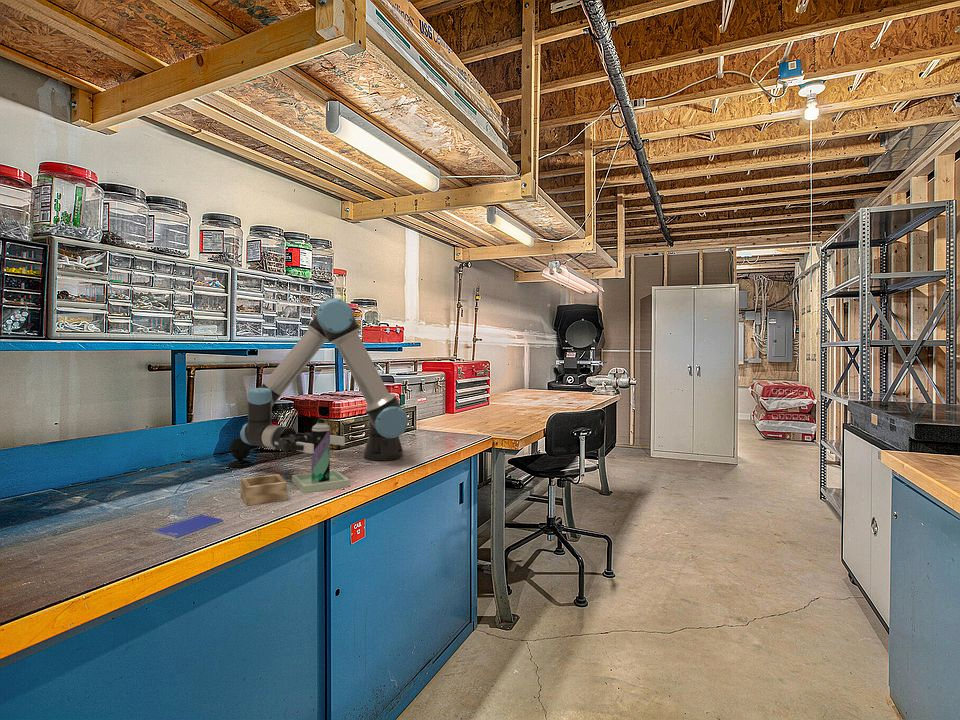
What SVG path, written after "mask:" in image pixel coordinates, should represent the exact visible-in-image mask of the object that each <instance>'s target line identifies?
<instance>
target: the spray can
mask: <svg viewBox="0 0 960 720" xmlns="http://www.w3.org/2000/svg"><path fill="white" fill-rule="evenodd" d="M330 427H331V426H330V425H328V424H327V423H326V421H325V419H324V418H318V421H317V422H316V424H314V425H313V426H312V428H311V433H312V443H311V444H314V453H312V454H311V468H310V469H311V471H310V473H311V483H312V484H317V483H324V482H329V479H330V471H331V468H330V467H331V466H330V465H331V463H330V460H331V459H330V458H331V444H330V432H331V428H330Z"/></svg>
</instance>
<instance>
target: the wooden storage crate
mask: <svg viewBox="0 0 960 720" xmlns="http://www.w3.org/2000/svg"><path fill="white" fill-rule="evenodd" d="M287 487H288V484H287V481H286V480H285V479H284V478H283V477H282V476H281V475H280V474H279V473H277V474H267V475H260V476H251V477H244V478H240V498H241V500H243V502H244V504H245V506H246V507H247V506H249V505H250V506H256V505H262V503H263V504H268V503H269V502H270V503H277V502H283V501H282V500H284V501H287V497H288V495H287V494H288V492H287V491H288V490H287V489H288V488H287ZM276 501H277V502H276ZM270 503H269V504H270ZM250 506H249V507H250Z"/></svg>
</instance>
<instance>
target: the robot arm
mask: <svg viewBox="0 0 960 720" xmlns="http://www.w3.org/2000/svg"><path fill="white" fill-rule="evenodd" d="M307 328H308V329H307V330H306V332H304V334H303V335H302V337H301V338H300V339H299V340H298V341H297V342H296V344H295V345H294V346H293V348H292V349H291V350H290V351H289V352H288V353H287V354H286V356H285V357H284V358H283V359H282V361H280V363H279V364H278V365H277V367H275V369H274V370H273V371H272V372H271V374H270V375H269V376H268V377H267V378H266V379H265V381H264V382H263V383H262V384H261V386H260V387H254V388H250V389H248V391H247V399H246V401H247V422H246V423H244V424H243V425H242V427H241V430H240V432H239V433H240V434H239V436H240V437H239V438H241V439H242V441H243V442H245V443H247V444H250V445H251V446H254V447H263V448H264V447H265V448H268V449H272V450H273V451H275V450H280V451H283V452H285V453H288V452H290V454H296V452H300V453H306V454H311V455H312V453H314V444H312V432H304V433H302V432H296V430H295V429H294V428H293V427H289V426H282V425H276V424H272V421H273V420H272V415H273V412H272V410H273V406H274V405H275V403H276V402H277V401H278V400H279V398H280V397H281V396H282V395H283V394H284V392H285V391H287V389H288V388H289V386H290V385H291V384H292V383H293V382H294V380H295V379H296V378H297V376H299V374H301V372H302V371H303V370H304V369H305V368H306V366H307V365H308V363H309V362H310V361H311V360H312V358H314V356H315V355H316V354H317V353H318V351H319V350H320V349H321V348H322V347H323V345H324V344H326V343H328V342H329V343H330V344H333V345H335V346H336V348H337V350H338V352H339V354H340V355H341V357H342V359H343V361H344V363H345V365H346V367H347V368H348V370H349V372H350V374H351V376H352V378H353V380H354V382H355V383H356V386H357V387H358V389H359V390H360V393H361V394H362V396H363V398H364V400H365V401H366V408H365V411H366V414H367V415H368V439H367V441H366V444H365V448H364V450H363V458H364V459H366V460H370V461H376V460H388V461H392V460H391V459H396V460H398V459H397V458H400V457H402V456H403V457H404V450H403V445H402V443H401V440H400V436H401V435H403V434H404V433H405V431H406V430H407V428H408V425H409V424H408V423H409V419H408V415H407V413H406V411H405V410H404V409H403V408H402V406H401V403H400V399H399V398H397V397H396V395H395V394H393V393H390V392H389V391H388V389H387V387H386V385H385V383H384V382H383V379H382V376H381V375H380V374H379V373H380V372H379V371H378V370H377V367H376V365H375V364H374V362H373V360H372V358H371V355H370V354H369V352H368V350H367V349H366V347H365V344H364V343H363V340H362V339H361V337H360V334H359V332H360V326H359V324H358V322H357V320H356V319H355V316H354V311H353V308H352V307H351V306H350V304H349V303H348V302H346V301H345V300H343V299H340V298H335V297H334V298H329V299H326V300H324V301H323V302H321V303H320V305H319V306H318V307H317V310H316V313H315V315H314V317H313V319H312V320H311V321H310V323H309V324H307ZM330 445H335V446H343V447H344V446H345V445H346V436H342V435H341V436H340V435H334V433H332V432H331V431H330ZM403 457H402V458H403ZM400 459H401V458H400Z"/></svg>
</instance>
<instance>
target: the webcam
mask: <svg viewBox="0 0 960 720" xmlns="http://www.w3.org/2000/svg"><path fill="white" fill-rule="evenodd" d="M251 450H252V445H250V444H247V443H245V442H243V441H242V439H241V437H237V438H235V439H233V440H232V442H231V443H230V453H231V455H232V457H233V458H234V459H236V460H233V461H230V462H229V463H228V464H227V466H228V468H230V467H232V468H231V469H244V468H243V467H245V468H248V466H249V467H251V466H252V465H253V464H252V461H250V460H247V459H246V458H247V457H249V455H250V452H251Z"/></svg>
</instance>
